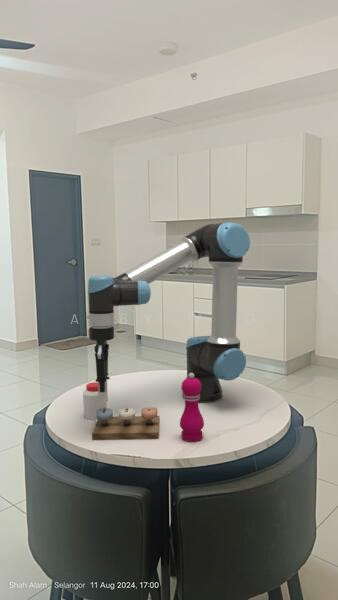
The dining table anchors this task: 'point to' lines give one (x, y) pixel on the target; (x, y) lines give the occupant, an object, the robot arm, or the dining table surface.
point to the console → (126, 429)
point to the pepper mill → (191, 410)
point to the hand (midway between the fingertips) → (103, 401)
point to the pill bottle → (92, 401)
